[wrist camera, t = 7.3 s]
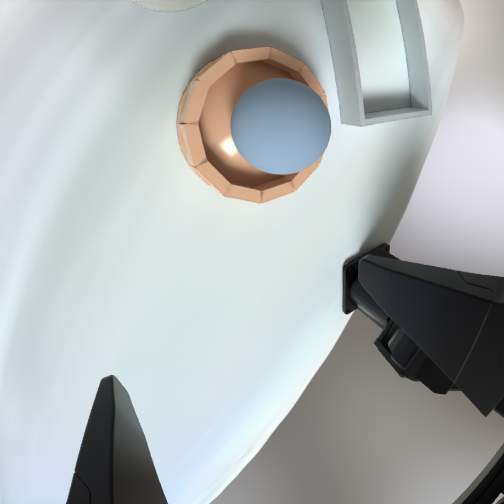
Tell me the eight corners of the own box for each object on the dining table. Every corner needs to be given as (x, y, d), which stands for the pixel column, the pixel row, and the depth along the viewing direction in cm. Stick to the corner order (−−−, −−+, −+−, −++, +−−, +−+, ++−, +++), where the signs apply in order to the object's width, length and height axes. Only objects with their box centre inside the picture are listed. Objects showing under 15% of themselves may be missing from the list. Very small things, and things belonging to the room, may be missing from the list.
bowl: (319, 172, 23) (336, 178, 21) (198, 215, 20) (208, 225, 18) (301, 46, 18) (318, 42, 16) (160, 67, 15) (166, 61, 13)
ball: (286, 76, 18) (345, 71, 13) (299, 153, 20) (355, 169, 16) (207, 90, 16) (250, 81, 11) (226, 176, 19) (271, 199, 14)
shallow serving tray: (414, 111, 25) (431, 114, 23) (341, 123, 22) (361, 126, 20) (392, -23, 17) (409, -26, 15) (308, -45, 14) (326, -53, 12)
